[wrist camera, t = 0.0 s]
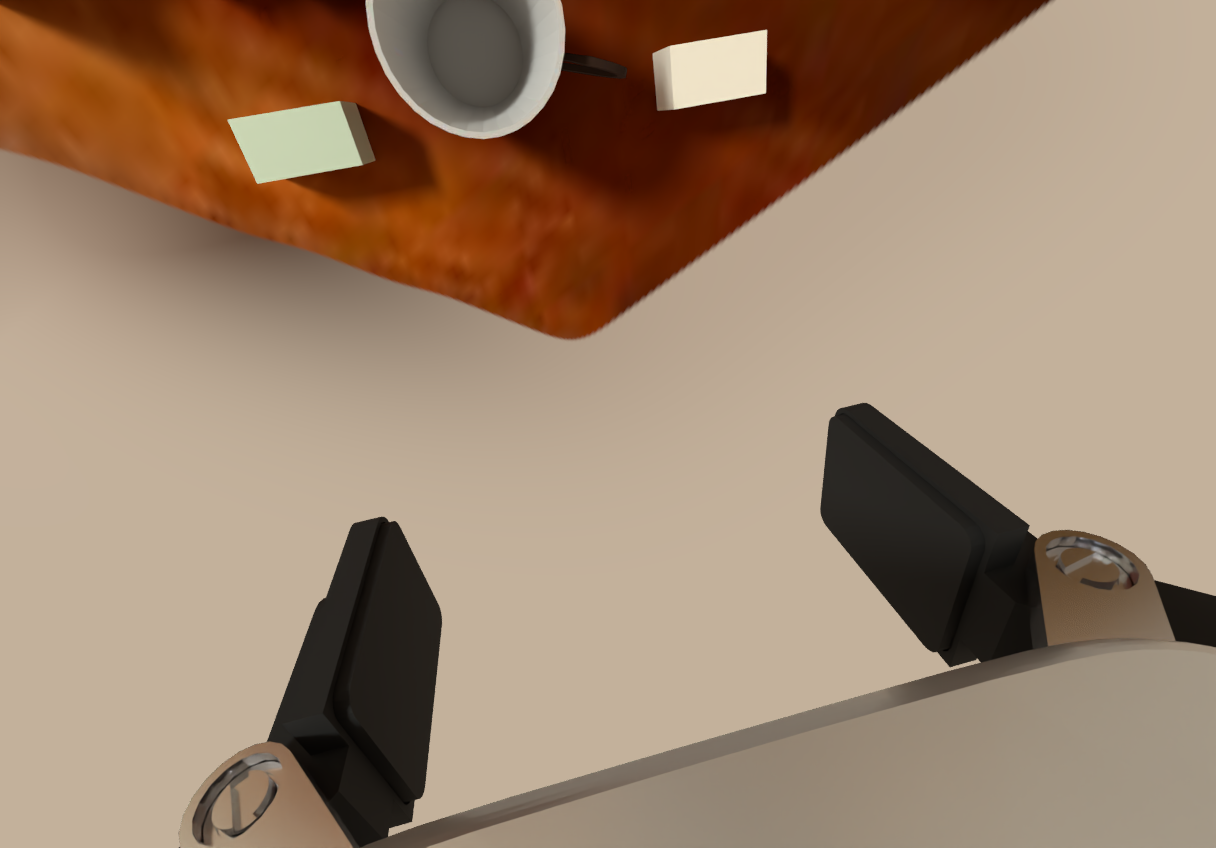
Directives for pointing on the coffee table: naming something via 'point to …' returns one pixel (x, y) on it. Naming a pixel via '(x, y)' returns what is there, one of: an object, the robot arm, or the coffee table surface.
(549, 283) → the coffee table surface
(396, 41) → the coffee mug
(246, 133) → the sage brick
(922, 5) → the coffee table surface
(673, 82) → the cream brick
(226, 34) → the coffee table surface
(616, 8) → the coffee table surface
